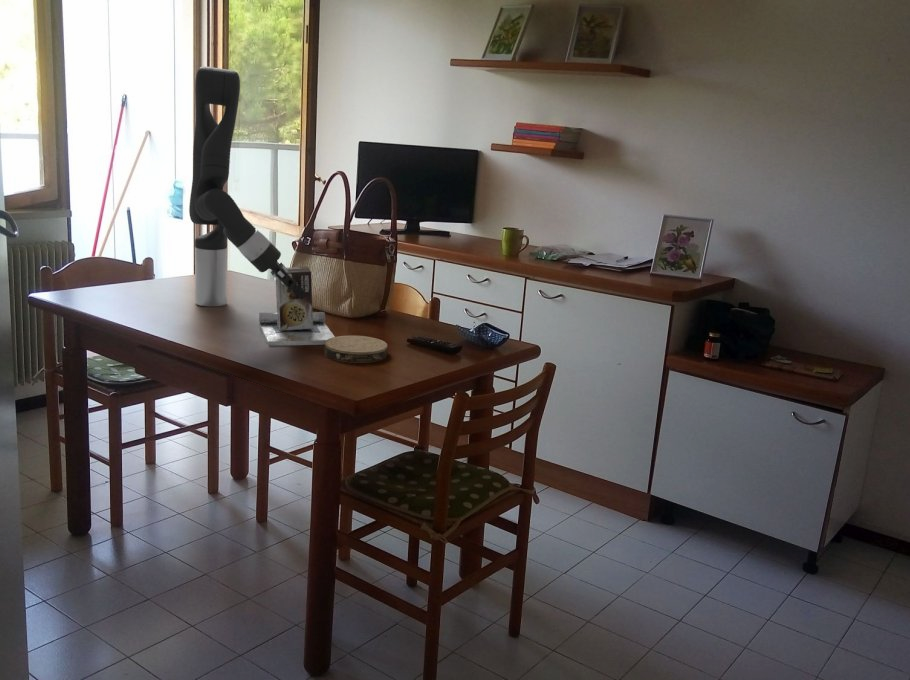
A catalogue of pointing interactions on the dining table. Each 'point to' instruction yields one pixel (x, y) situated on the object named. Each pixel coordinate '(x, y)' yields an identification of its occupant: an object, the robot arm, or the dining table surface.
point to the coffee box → (295, 301)
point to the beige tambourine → (355, 349)
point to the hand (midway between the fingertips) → (301, 293)
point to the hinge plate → (294, 331)
